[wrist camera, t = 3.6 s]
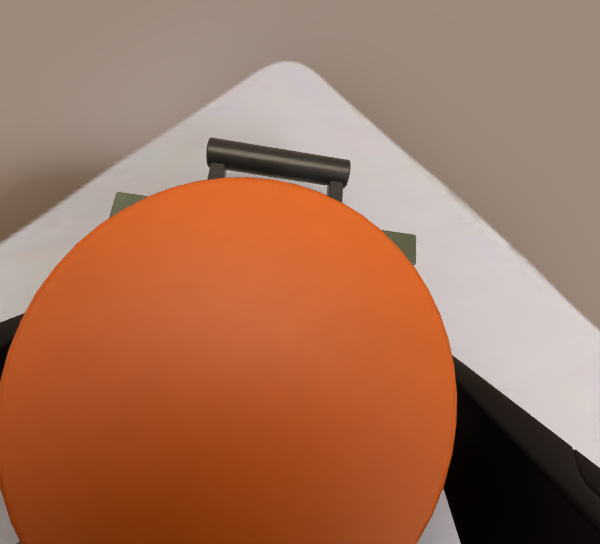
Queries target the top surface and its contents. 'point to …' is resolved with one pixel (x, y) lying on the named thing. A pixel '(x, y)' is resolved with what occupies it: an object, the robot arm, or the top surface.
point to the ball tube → (228, 379)
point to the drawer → (278, 175)
